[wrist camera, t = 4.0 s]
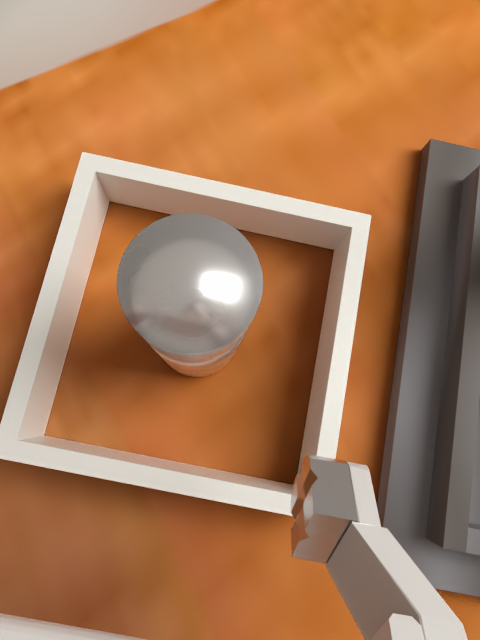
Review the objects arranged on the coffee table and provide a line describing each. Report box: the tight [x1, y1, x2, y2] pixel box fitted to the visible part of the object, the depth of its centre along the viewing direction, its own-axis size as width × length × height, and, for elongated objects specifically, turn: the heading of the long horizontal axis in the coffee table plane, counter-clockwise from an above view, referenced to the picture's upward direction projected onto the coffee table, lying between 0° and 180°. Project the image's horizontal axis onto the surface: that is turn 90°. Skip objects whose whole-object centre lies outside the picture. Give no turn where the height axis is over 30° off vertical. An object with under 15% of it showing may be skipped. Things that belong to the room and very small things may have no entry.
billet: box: [117, 213, 263, 377], centre depth 17 cm, size 4×4×10 cm
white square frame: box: [0, 152, 371, 516], centre depth 20 cm, size 14×14×3 cm
